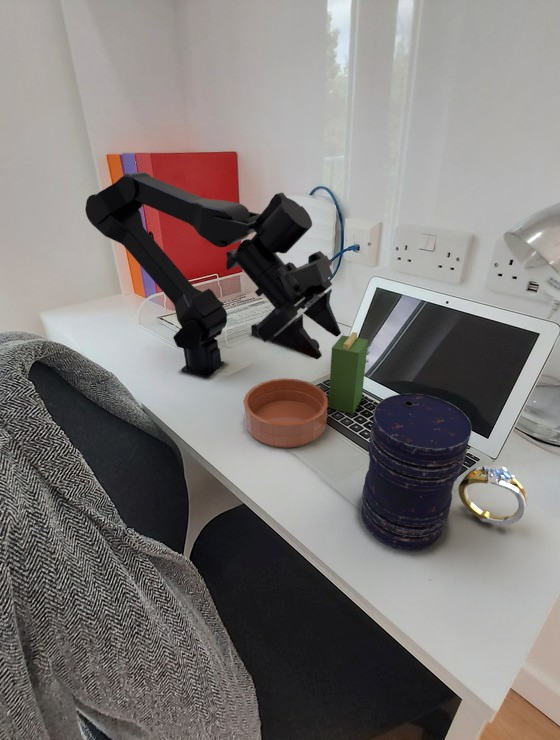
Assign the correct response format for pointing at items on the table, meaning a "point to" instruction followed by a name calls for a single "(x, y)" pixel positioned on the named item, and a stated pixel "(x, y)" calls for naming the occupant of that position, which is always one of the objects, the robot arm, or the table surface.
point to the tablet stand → (254, 333)
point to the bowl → (285, 412)
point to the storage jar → (413, 469)
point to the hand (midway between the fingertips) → (329, 345)
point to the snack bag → (347, 373)
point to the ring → (496, 477)
